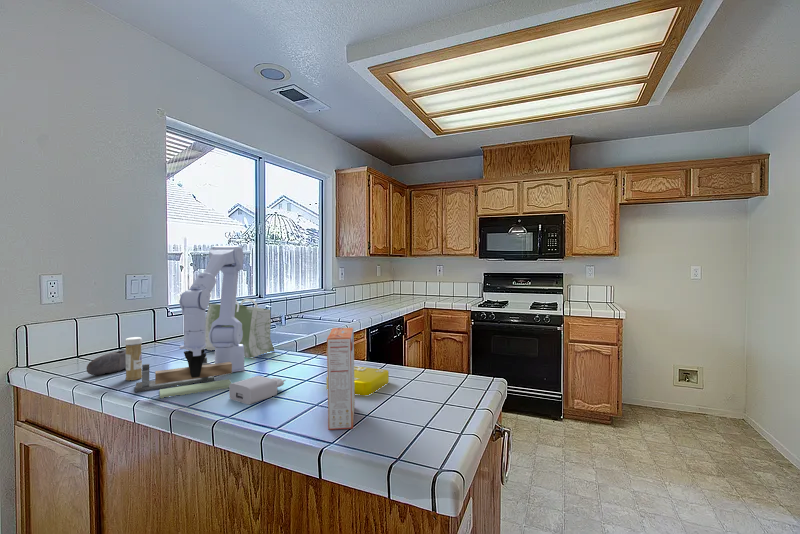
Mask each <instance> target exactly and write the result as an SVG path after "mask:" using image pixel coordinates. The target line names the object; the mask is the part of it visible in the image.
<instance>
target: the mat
mask: <svg viewBox="0 0 800 534" xmlns="http://www.w3.org/2000/svg"><path fill="white" fill-rule="evenodd" d="M231 383H232V381H231V380H230V379H221V380H214V381H208V382H201V383H194V384H187V385H181V386H174V387H167V388H160V389H159V399H160V398H161V399H165V398H164V397H168V398H170V397H169V396H174V397H176V396H175V395H180V396H184V395H185V394H186V395H191V393H193V394H199V393H204V392H210V391H216V390H222V389H223V390H224V389H229V385H230V384H231ZM198 392H199V393H198ZM186 395H185V396H186Z"/></svg>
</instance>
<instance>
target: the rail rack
mask: <svg viewBox="0 0 800 534" xmlns="http://www.w3.org/2000/svg"><path fill="white" fill-rule="evenodd" d="M209 364H210V363H209V362H208V357H207V356H206V357H205V359H204V361H203V364H202V365H209ZM214 381H215V376H210V377H203V378H196V379H189V380H182V381H175V382H168V383H160V384H155V379H154V380H153V379H151V380H150V363H145V364H143V363H142V378H141V381H138V382H136V383H135V388H134V389H135V393H137V392H138V393H139V392H145V391H146V390H147V391H151V389H154V390H159V389H158V388H160V389H166V388H165V387H167V388H172V387H171V386H174V387H178V386H177V385H181V386H187V385H193V383H194V384H200V382H201V383H207V382H214ZM186 384H187V385H186ZM147 391H146V392H147Z"/></svg>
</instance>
